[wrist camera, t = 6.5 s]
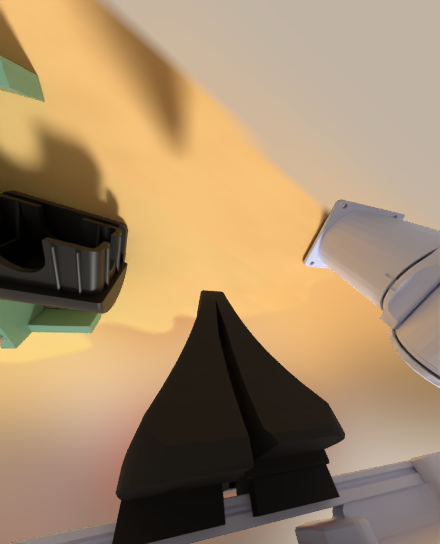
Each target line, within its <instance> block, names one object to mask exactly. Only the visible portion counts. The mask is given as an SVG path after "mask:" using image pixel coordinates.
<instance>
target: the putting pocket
mask: <svg viewBox="0 0 440 544" xmlns="http://www.w3.org/2000/svg"><path fill="white" fill-rule="evenodd" d="M0 90H3V91H7V92H11V93H14V94H18V95H22V96H25V97H29V98H33V99H37V100H40V101H44V98H43V94H42V91H41V87H40V83H39V79H38V76H37V75H36V74H34V73H32V72H30V71H28V70H26V69H25V68H23V67H21V66H19V65H17V64H15V63H14V62H12V61H10V60H8V59H6V58H4V57H3V56H1V55H0ZM100 318H101V314H100V313H94V312H87V311H80V310H69V309H45V308H44V307H43V305H37V304H30V303H23V302H16V301H9V300H2V299H0V347H1V348H17V347H18V346H19V345H20V344H21V343H22V342H23V341H24V340H25V339H26V338H27V337H28V336H29V335H30V333H31V332H64V333H92V331H93V330H94V328H95V326H96V325H97V323H98V321H99V320H100Z"/></svg>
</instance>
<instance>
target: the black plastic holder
mask: <svg viewBox="0 0 440 544" xmlns="http://www.w3.org/2000/svg"><path fill="white" fill-rule="evenodd" d="M127 234H128V229H127V227H126V225H124V224H122V223H120V222H116V221H113V220H110V219H106V218H103V217H99V216H96V215H93V214H89V213H86V212H83V211H79V210H76V209H73V208H69V207H66V206H63V205H59V204H56V203H52V202H49V201H46V200H42V199H39V198H36V197H32V196H29V195H26V194H22V193H19V192H16V191H7V192H4V193H2V194H0V299H2V300H9V301H16V302H23V303H30V304H37V305H45V306H52V307H59V308H66V309H73V310H80V311H87V312H94V313H101V314H103V313H106V312H108V311H109V310H110V309H111V307H112V306H113V305H114V303H115V301H116V299H117V297H118V295H119V293H120V290H121V288H122V285H123V281H124V278H125V274H126V269H127V263H125V262H124V261H125V253H126V243H127Z"/></svg>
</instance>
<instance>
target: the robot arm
mask: <svg viewBox="0 0 440 544" xmlns="http://www.w3.org/2000/svg"><path fill="white" fill-rule="evenodd" d="M344 204H345V206H344V207H343V205H344ZM404 219H405V215H404V214H399V213H395V212H391V211H387V210H383V209H378V208H374V207H370V206H366V205H362V204H358V203H353V202H349V201H345V200H338V201H337V202H336V203H335V205H334V207H333V209H332V210H331V212H330V214H329V216H328V218H327V220H326V221H325V223H324V225H323V227H322V229H321V231H320V232H319V234H318V236H317V238H316V240H315V242H314V243H313V245H312V247H311V249H310V251H309V253H308V254H307V256H306V258H305V260H304V262H303V263H304V265H305V266H311V267H319V268H327V269H331V270H332V271H334V272H335V273H336V274H337V275H339V276H340V277H341V278H342V279H344V280H345V281H346V282H347V283H349V284H350V285H351V286H352V287H354V288H355V289H356V290H358V291H359V292H360V293H361V294H363V295H364V296H365V297H366V298H368V299H369V300H370V301H371V302H373V303H374V304H375V305H376V306H378V307H379V308H380V309H382V310H383V314H382V315H381V317H380V319H382V320H383V321H384V322H385V323H386V324H387V325H389V326H390V327H391V328H390V330H389V334H388V335H389V340H390V342H391V344H392V346H393V347H394V349H395V351H396V352H397V353H398V354H399V356H400V357H401V358H402V359H403V360H404V361H405V362H406V363H407V364H408V365H409V366H410V367H411V368H412V369H413V370H414V371H415V372H417V373H418V374H419V375H421V376H422V377H423V378H425V379H426V380H427V381H429V382H430V383H432V384H434V385H435V386H437V387H439V388H440V231H438V230H435V229H431V228H428V227H424V226H420V225H417V224H414V223H410V222H407V221H403V220H404ZM311 262H312V263H311ZM344 438H345V433H344V431H343V429H342V427H341V425H340V424H339V422H338V420H337V418H336V416H335V415H334V413H333V411H332V409H331V408H330V406H329V404H328V403H327V402H326V401H324V400H323V399H322V398H321V397H319V396H318V395H317V394H315V393H314V392H313V391H312V390H310V389H309V388H308V387H306V386H305V385H304V384H303V383H301V382H300V381H299V380H298V379H297V378H295V377H294V376H293V375H292V374H291V373H290V372H288V371H287V370H286V369H285V368H284V367H283V366H282V365H281V364H280V363H278V361H276V359H275V358H273V357H272V356H271V355H270V354H269V353H268V352H267V351H266V350H265V349H264V347H263V346H262V345H261V344H260V343H259V342H258V341H257V340H256V339H255V337H254V336H253V335H252V334H251V333H250V331H249V330H248V329H247V327H246V326H245V325H244V324H243V322H242V321H241V319H240V318H239V316H238V315H237V314H236V312H235V311H234V309H233V308H232V306H231V304H230V303H229V301H228V300H227V298H226V296H225V295H224V293H223V292H218V291H204V290H203V291H201V295H200V300H199V306H198V311H197V318H196V320H195V323H194V326H193V329H192V331H191V333H190V336H189V338H188V340H187V342H186V344H185V347H184V348H183V350H182V352H181V354H180V356H179V358H178V360H177V362H176V364H175V366H174V368H173V369H172V371H171V373H170V375H169V376H168V378H167V379H166V381H165V383H164V385H163V386H162V388H161V390H160V391H159V393H158V394H157V396H156V397H155V399H154V401H153V402H152V404H151V405H150V407H149V409H148V410H147V411H146V413H145V415H144V416H143V419H142V421H141V423H140V425H139V427H138V429H137V431H136V433H135V436H134V438H133V440H132V442H131V444H130V446H129V448H128V450H127V453H126V455H125V459H124V461H123V464H122V467H121V472H120V476H119V481H118V485H117V490H116V495H117V497H118V498H119V499H121V504H120V509H119V513H118V518H117V521H113V522H108V523H103V524H98V525H93V526H88V527H84V528H79V529H74V530H69V531H64V532H59V533H54V534H50V535H45V536H40V537H35V538H30V539H25V540H21V541H15V542H11V543H6V544H190V543H194V542H198V541H201V540H205V539H209V538H213V537H217V536H221V535H225V534H229V533H233V532H236V531H240V530H245V529H248V528H252V527H256V526H260V525H264V524H268V523H271V522H276V521H280V520H284V519H288V518H292V517H296V516H299V515H303V514H307V513H311V512H315V511H319V510H322V509H327V508H331V507H333V517H332V519H324V520H316V521H311V522H308V523H305V524H303V525H300V526H298V527H296V530H295V532H296V536H297V540H298V543H299V544H440V452H437V453H433V454H428V455H423V456H420V457H416V458H412V459H411V460H409V461H404V462H399V463H395V464H389V465H384V466H380V467H375V468H370V469H365V470H360V471H355V472H351V473H346V474H341V475H336V476H331V475H330V473H329V470H328V468H327V466H326V464H328V463H329V459H328V457H327V455H326V452H325V450H324V449H326V448H328V447H330V446H332V445H334V444H337V443H339V442H340V441H342V440H343V439H344ZM231 492H237V496H234V497H230V498H223V494H226V493H231Z"/></svg>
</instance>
